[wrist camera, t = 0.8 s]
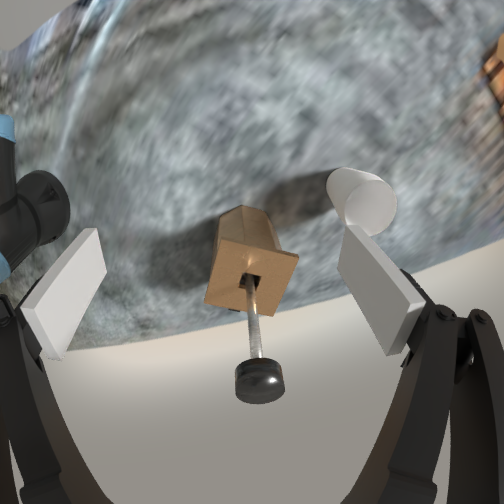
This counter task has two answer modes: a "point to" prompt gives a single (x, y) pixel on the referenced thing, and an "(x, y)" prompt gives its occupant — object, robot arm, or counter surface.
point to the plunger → (257, 358)
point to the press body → (248, 261)
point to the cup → (362, 199)
